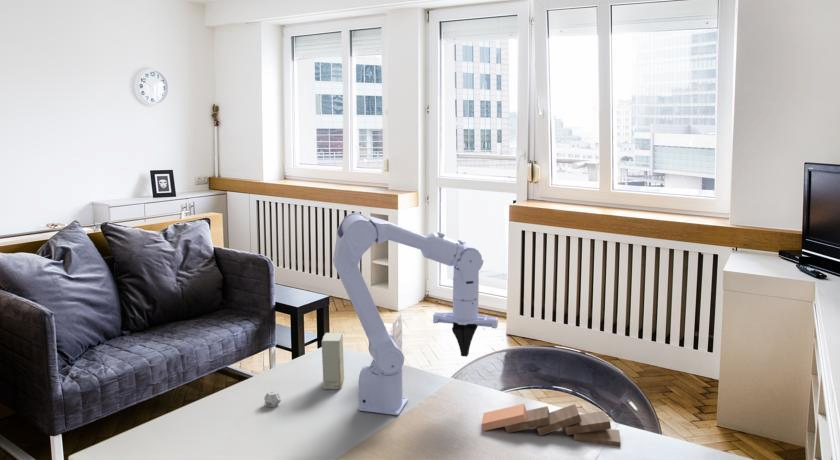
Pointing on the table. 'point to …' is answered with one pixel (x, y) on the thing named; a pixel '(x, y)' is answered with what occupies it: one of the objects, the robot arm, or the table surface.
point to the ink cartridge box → (395, 331)
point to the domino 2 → (561, 419)
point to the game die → (272, 399)
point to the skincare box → (332, 360)
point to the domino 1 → (532, 420)
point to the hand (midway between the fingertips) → (464, 354)
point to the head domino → (504, 417)
